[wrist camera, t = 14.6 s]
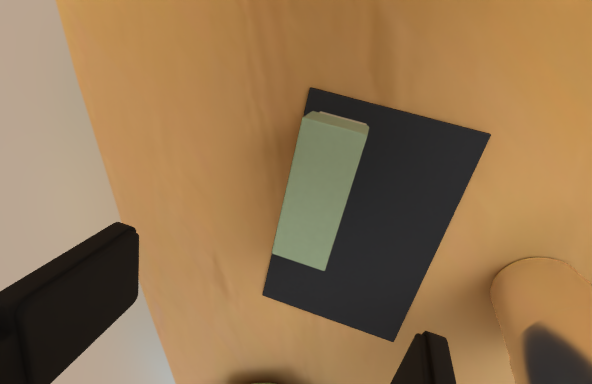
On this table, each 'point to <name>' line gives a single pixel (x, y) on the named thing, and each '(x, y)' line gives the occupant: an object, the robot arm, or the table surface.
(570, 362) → the metal cup with straw
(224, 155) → the table surface
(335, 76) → the table surface
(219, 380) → the table surface
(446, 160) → the desk mat
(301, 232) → the green and beige block
